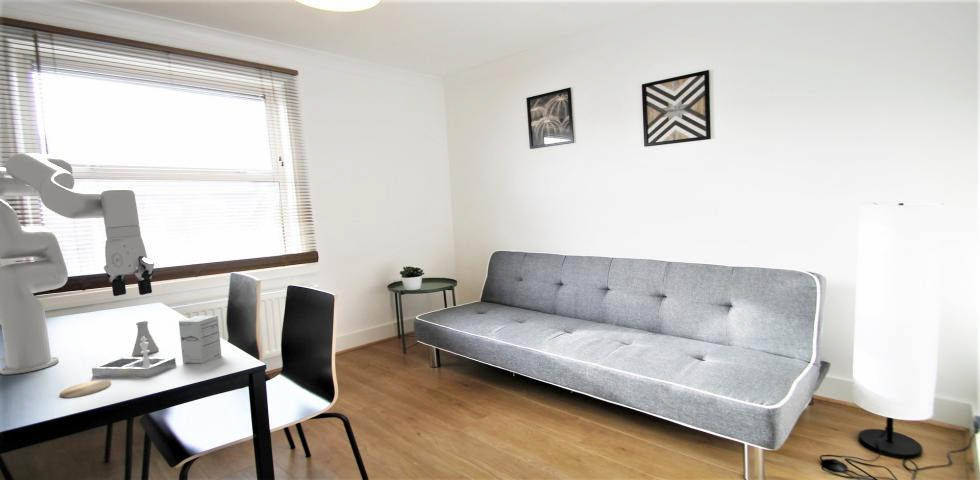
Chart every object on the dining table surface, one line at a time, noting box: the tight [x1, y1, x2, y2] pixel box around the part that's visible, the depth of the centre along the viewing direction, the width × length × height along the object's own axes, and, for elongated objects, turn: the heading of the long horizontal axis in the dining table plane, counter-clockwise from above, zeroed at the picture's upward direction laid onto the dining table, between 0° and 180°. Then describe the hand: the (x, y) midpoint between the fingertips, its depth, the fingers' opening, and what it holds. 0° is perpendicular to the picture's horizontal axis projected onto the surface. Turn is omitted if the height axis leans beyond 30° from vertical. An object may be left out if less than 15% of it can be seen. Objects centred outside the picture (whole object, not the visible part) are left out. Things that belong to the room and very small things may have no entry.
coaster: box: [59, 379, 112, 399], centre depth 121 cm, size 10×10×1 cm
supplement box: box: [178, 315, 222, 364], centre depth 141 cm, size 7×7×13 cm
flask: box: [131, 320, 160, 357], centre depth 151 cm, size 7×7×10 cm
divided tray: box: [91, 356, 177, 378], centre depth 134 cm, size 18×9×2 cm, turn 80°
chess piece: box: [140, 336, 152, 367], centre depth 133 cm, size 5×5×10 cm
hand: (132, 294), depth 132 cm, fingers open, 9 cm apart
